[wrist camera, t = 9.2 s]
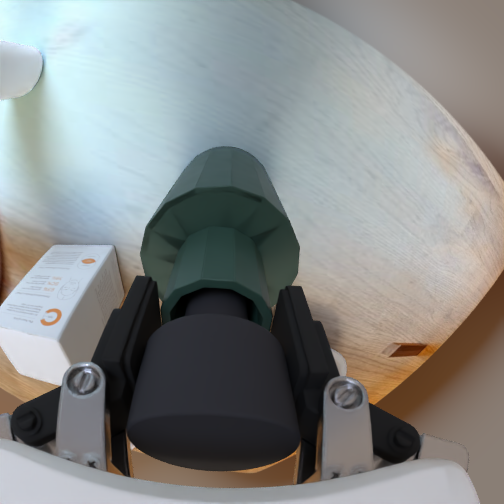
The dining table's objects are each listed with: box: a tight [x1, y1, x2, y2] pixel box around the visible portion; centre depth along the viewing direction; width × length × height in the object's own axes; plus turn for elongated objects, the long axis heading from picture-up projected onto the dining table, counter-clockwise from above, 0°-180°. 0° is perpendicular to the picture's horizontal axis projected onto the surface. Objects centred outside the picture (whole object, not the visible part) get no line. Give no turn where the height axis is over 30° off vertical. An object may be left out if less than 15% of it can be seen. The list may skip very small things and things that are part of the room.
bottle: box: [140, 147, 300, 331], centre depth 17 cm, size 8×8×16 cm
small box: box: [0, 245, 124, 386], centre depth 21 cm, size 8×6×13 cm
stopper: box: [126, 287, 301, 471], centre depth 9 cm, size 4×4×7 cm
